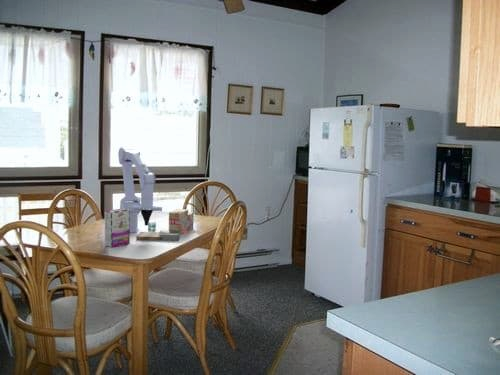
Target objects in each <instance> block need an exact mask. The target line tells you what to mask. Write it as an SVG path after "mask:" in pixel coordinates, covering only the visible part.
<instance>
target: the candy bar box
mask: <svg viewBox="0 0 500 375" xmlns="http://www.w3.org/2000/svg"><path fill="white" fill-rule="evenodd" d="M130 233H131V232H130V209H125V208H122V209H120V208H115V209H110V210H104V246H105V247H106V246H108V247H107V248H116V247H119V246H120V247H121V246H124V245H125V246H126V245H129V244H130V243H131V234H130Z"/></svg>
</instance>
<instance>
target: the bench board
mask: <svg viewBox="0 0 500 375" xmlns="http://www.w3.org/2000/svg"><path fill="white" fill-rule="evenodd" d="M159 232H160V231H159ZM159 232H158V231H157V232H156V231H140V232H139V233H137V235H136V239H135V240H136V241H142V242H143V241H146V242H162V236H161V235H159Z"/></svg>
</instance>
